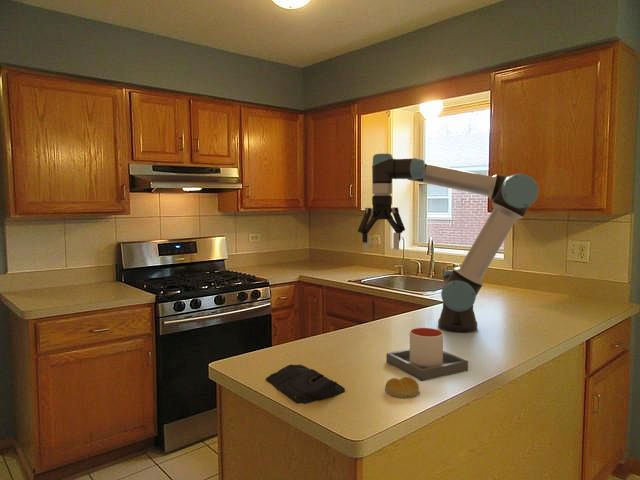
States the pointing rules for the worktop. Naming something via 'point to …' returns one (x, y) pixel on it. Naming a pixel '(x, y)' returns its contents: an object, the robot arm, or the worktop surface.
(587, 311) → the worktop surface
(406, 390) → the bread roll
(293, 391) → the dark slate chunk
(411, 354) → the cup
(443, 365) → the tray
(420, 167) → the robot arm
